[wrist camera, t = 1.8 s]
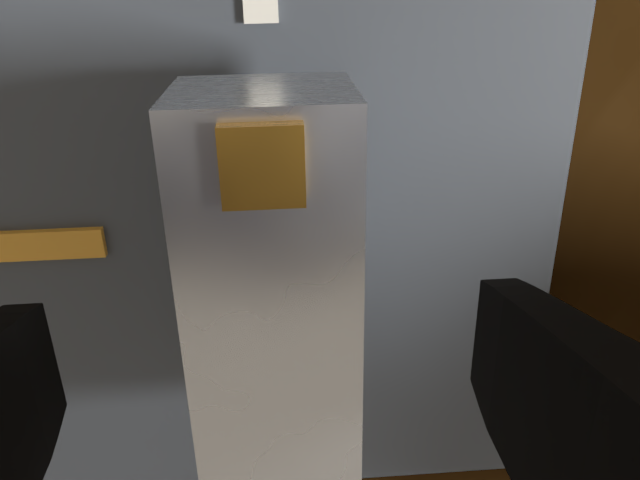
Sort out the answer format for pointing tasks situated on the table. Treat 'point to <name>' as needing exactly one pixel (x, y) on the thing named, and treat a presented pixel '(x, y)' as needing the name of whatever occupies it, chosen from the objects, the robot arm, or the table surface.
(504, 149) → the latch plate
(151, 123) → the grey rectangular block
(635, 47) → the table surface
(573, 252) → the table surface
